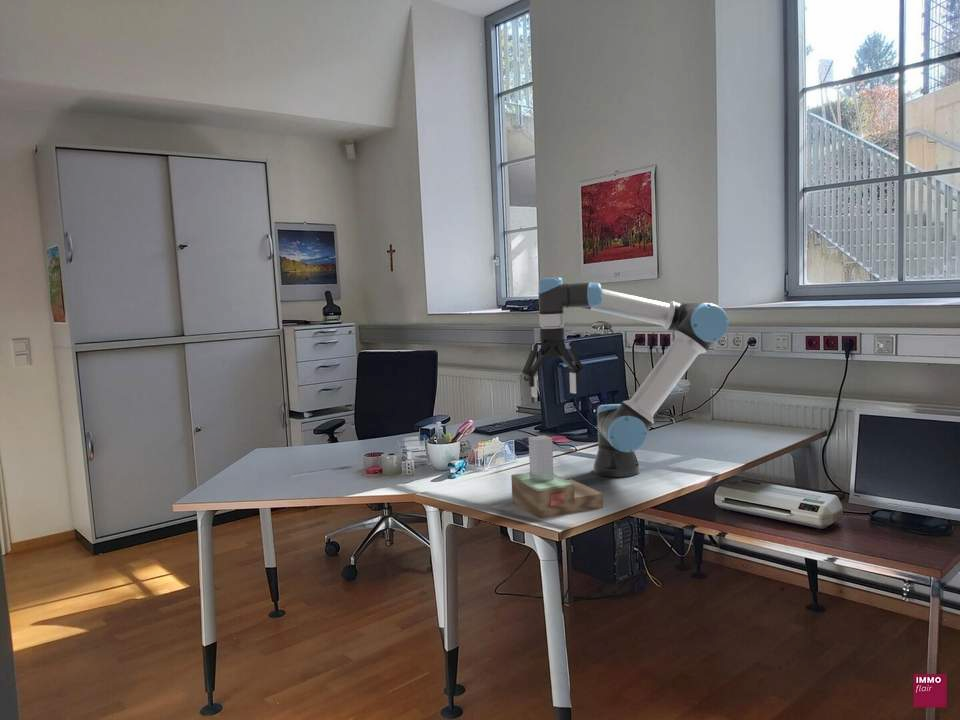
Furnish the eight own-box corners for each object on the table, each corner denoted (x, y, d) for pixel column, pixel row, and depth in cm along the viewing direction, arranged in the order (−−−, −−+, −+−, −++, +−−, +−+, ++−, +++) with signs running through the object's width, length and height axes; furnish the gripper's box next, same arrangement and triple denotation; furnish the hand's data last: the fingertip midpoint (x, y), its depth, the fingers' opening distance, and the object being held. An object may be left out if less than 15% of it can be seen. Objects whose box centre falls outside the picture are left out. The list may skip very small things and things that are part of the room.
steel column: (545, 476, 211) (544, 435, 210) (553, 479, 206) (552, 438, 205) (530, 478, 209) (528, 437, 208) (537, 482, 204) (536, 440, 203)
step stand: (572, 492, 222) (571, 466, 221) (604, 507, 205) (603, 479, 204) (512, 501, 215) (511, 474, 214) (540, 518, 198) (539, 489, 197)
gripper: (581, 325, 235) (583, 390, 237) (510, 329, 226) (512, 397, 228) (592, 325, 228) (594, 392, 230) (520, 330, 219) (523, 400, 221)
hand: (554, 395), depth 229 cm, fingers open, 13 cm apart
